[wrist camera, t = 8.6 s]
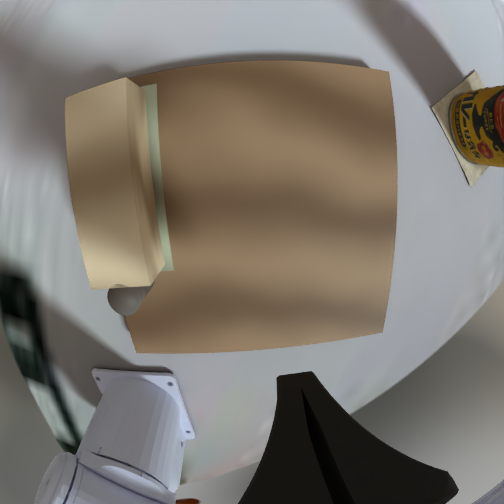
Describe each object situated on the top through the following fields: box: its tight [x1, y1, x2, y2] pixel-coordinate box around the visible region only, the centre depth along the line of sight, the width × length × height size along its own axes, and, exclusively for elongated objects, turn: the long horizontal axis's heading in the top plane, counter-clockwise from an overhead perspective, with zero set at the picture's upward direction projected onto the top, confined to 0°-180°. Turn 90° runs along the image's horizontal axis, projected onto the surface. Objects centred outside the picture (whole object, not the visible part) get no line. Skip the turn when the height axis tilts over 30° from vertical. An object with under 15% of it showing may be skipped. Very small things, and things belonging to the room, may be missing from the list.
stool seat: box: [125, 60, 397, 353], centre depth 16 cm, size 18×18×2 cm
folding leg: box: [65, 77, 165, 316], centre depth 13 cm, size 12×4×3 cm, turn 5°
